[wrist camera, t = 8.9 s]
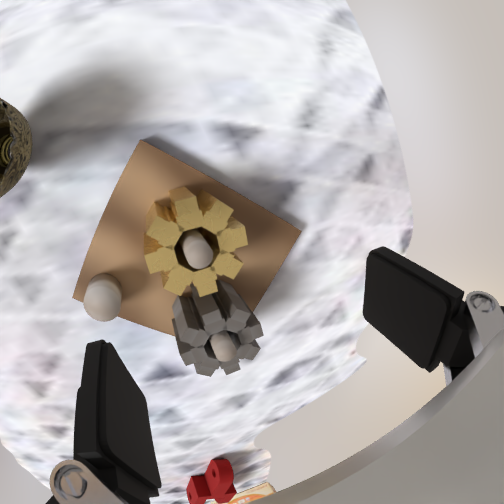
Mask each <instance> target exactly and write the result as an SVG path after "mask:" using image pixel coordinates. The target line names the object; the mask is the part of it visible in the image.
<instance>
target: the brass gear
mask: <svg viewBox="0 0 504 504" xmlns="http://www.w3.org/2000/svg"><path fill="white" fill-rule="evenodd" d="M168 192H169V196H170V201H171V202H169V205H170V208H169V207H167V206H165V207H163V206H162V205H160V204H158V203H156V202H155V201H154V203H153V204H152V206H151V208H150V210H149V211H148V213H147V215H146V232H145V233H144V257H145V260H146V263H147V266H148V269H149V272H150V274H152V273H155V272H159V271H160V272H161V278H162V284H163V288H164V289H166V290H168V291H170V292H172V293H175V294H177V295H179V296H181V295H182V293H183V291H184V289H185V288H186V286H187V285H188V286H189V285H190V284H191V282H193V284H194V286H195V287H196V289H197V292H198V294H199V296H200V297H202V296H205V295H208V294H211V293H214V292H217V291H218V289H217V285H216V281H215V280H217V276H216V273H217V274H219V275H221V276H222V275H223V274H224V275H225V276H227V277H229V278H232V279H234V278H235V277H236V275H237V273H238V272H239V270H240V269H241V267H242V266H243V264H244V263H243V262H242V261H241V260H240V259H239V257H238V256H237V255H236V254H235V253H234V252H233V251H236V250H235V249H236V248H239V247H242V246H246V245H248V242H247V236H246V230H245V226H244V225H243V224H241V223H240V222H239V221H237V220H236V219H235V218H233V217H232V216H231V214H232V212H233V211H234V210H233V209H232V208H230V207H229V206H227V205H226V204H224V203H223V202H221V201H220V200H218V199H217V198H215V197H214V196H212V195H211V194H209V193H207V192H206V191H204V190H203V189H201V190H200V192H199V193H198V195H197V196H195V195H194V194H193V193H192V192H191V191H189V190H188V189H187V188H186V187H185V186H184V187H180V188H176V189H173V190H169V191H168ZM201 226H202V227H203V228H204V232H203V234H202V236H203V238H204V239H205V240H206V242H207V243H208V245H209V246H210V248H211V249H212V251H213V259H212V261H211V263H210V264H209V265H208V266H207V267H205V268H202V269H196V268H193V267H192V266H191V265H190V264H189V263H188V261H187V259H186V256H185V254H184V251H183V249H182V246H180V245H178V244H176V243H177V241H178V239H179V238H180V236H181V234H182V233H183V231H187V230H190V229H194V228H197V227H201Z"/></svg>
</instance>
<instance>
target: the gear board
mask: <svg viewBox="0 0 504 504" xmlns="http://www.w3.org/2000/svg"><path fill="white" fill-rule="evenodd" d="M184 186H185V187H186V188H187V189H188V190H189V191H191V192H192V193H193V194H194V195H195V196H197V195H198V193H199V192H200V190H201V189H203V190H204V191H206V192H207V193H209V194H211V195H212V196H214V197H215V198H217V199H218V200H220V201H221V202H223V203H224V204H226V205H227V206H229V207H230V208H232V209H233V210H234V211H233V212H232V214H231V216H232V217H233V218H235V219H236V220H237V221H239V222H240V223H241V224H243V225H244V226H245V230H246V236H247V242H248V245H246V246H242V247H239V248H236V249H235V250H236V251H233V252H234V253H235V254H236V255H237V256H238V257H239V259H240V260H241V261H242V262H243V263H244V264H243V266H242V267H241V269H240V270H239V272H238V273H237V275H236V277H235V278H234V279H232V278H229V277H227V276H225V275H224V274H223V275H222V276H221V275H219V274H217V273H216V276H217V280H215V281H216V285H217V289H218V291H217V292H214V293H211V294H208V295H205V296H202V297H200V296H199V294H198V292H197V289H196V287H195V286H194V284H193V282H191V284H190V285H189V286H188V285H187V286H186V288H185V289H184V291H183V293H182V295H181V296H179V295H177V294H175V293H172V292H170V291H168V290H166V289H164V288H163V284H162V278H161V272H160V271H159V272H155V273H152V274H150V272H149V269H148V266H147V263H146V260H145V257H144V233H145V232H146V215H147V213H148V211H149V210H150V208H151V206H152V204H153V203H154V201H155V202H156V203H158V204H160V205H162V206H163V207H165V206H167V207H169V208H170V205H169V202H171V201H170V196H169V192H168V191H169V190H173V189H176V188H180V187H184ZM203 232H204V228H203V227H202V226H201V227H197V228H194V229H190V230H187V231H183V233H182V234H181V236H180V238H179V239H178V241H177V243H176V244H178V245H180V246H182V249H183V251H184V254H185V256H186V259H187V261H188V263H189V264H190V265H191V266H192V267H193V268H196V269H202V268H205V267H207V266H208V265H209V264H210V263H211V261H212V259H213V251H212V249H211V248H210V246H209V245H208V243H207V242H206V240H205V239H204V238H203V236H202V234H203ZM300 233H301V230H299V229H297V228H296V227H294V226H292V225H291V224H289V223H288V222H286V221H284V220H283V219H281V218H279V217H278V216H276V215H274V214H273V213H271V212H269V211H268V210H266V209H264V208H263V207H261V206H259V205H258V204H256V203H254V202H252V201H251V200H249V199H247V198H246V197H244V196H242V195H241V194H239V193H237V192H235V191H234V190H232V189H230V188H228V187H227V186H225V185H223V184H221V183H220V182H218V181H216V180H214V179H213V178H211V177H209V176H207V175H205V174H204V173H202V172H200V171H198V170H196V169H195V168H193V167H191V166H189V165H187V164H185V163H184V162H182V161H180V160H178V159H176V158H174V157H173V156H171V155H169V154H167V153H165V152H163V151H161V150H159V149H158V148H156V147H154V146H152V145H150V144H148V143H146V142H144V141H142V140H140V141H139V143H138V145H137V146H136V148H135V150H134V152H133V154H132V156H131V157H130V159H129V161H128V163H127V165H126V167H125V169H124V171H123V173H122V175H121V177H120V179H119V181H118V183H117V185H116V187H115V189H114V191H113V193H112V195H111V197H110V199H109V202H108V204H107V206H106V208H105V211H104V213H103V215H102V217H101V220H100V222H99V225H98V227H97V229H96V232H95V234H94V237H93V239H92V242H91V245H90V247H89V250H88V252H87V255H86V258H85V261H84V264H83V266H82V269H81V272H80V275H79V278H78V281H77V284H76V288H75V291H74V294H73V297H72V298H74V299H76V300H78V301H81V302H83V303H84V308H85V310H86V312H87V313H88V315H89V316H91V317H92V318H93V319H95V320H98V321H103V322H105V321H110V320H113V319H114V318H115V317H117V316H118V317H121V318H123V319H126V320H129V321H131V322H134V323H137V324H140V325H143V326H145V327H148V328H151V329H154V330H157V331H160V332H163V333H166V334H169V335H173V336H175V337H176V341H177V345H178V349H179V353H180V356H181V358H182V360H183V361H184V363H185V365H186V366H187V365H190V364H193V363H194V366H195V369H196V372H197V374H201V375H206V376H210V377H211V376H212V374H213V373H214V371H215V370H216V369H218V368H219V366H221V369H224V371H225V373H226V375H228V374H230V373H233V372H235V371H238V370H240V367H239V364H238V362H240V361H239V359H244V358H246V359H250V360H253V359H254V357H255V356H256V354H257V353H258V352H259V350H260V349H261V348H260V347H259V345H258V344H257V342H256V340H255V339H257V338H259V337H261V336H264V335H263V332H262V328H261V324H260V322H259V321H258V319H257V318H256V317H255V315H254V314H253V311H254V309H255V308H256V306H257V305H258V303H259V301H260V300H261V298H262V296H263V295H264V293H265V292H266V290H267V288H268V287H269V285H270V283H271V282H272V280H273V278H274V277H275V275H276V273H277V272H278V270H279V268H280V267H281V265H282V263H283V262H284V260H285V258H286V257H287V255H288V253H289V252H290V250H291V248H292V247H293V245H294V243H295V242H296V240H297V238H298V236H299V235H300ZM238 358H239V359H238Z"/></svg>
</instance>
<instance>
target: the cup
mask: <svg viewBox="0 0 504 504" xmlns="http://www.w3.org/2000/svg"><path fill="white" fill-rule="evenodd" d="M11 142H12V143H11ZM9 145H10V157H11V159H10V158H9V156H8V148H9ZM31 151H32V135H31V130H30V127H29V124H28V122H27V120H26V119H25V117H24V116H23V115H22V114H21V113H20V112H19V111H18V110H17V109H16V108H15V107H13V106H12V105H10V104H9V103H7V102H6V101H4V100H3V99H1V98H0V197H2V196H3V195H4V194H6V193H7V192H8V191H9V190H11V189H12V188H13V187H14V186H15V185H16V184H17V182H18V181H19V180H20V178H21V177H22V176H23V174H24V172H25V170H26V168H27V166H28V163H29V160H30V156H31Z"/></svg>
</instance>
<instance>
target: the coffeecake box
mask: <svg viewBox="0 0 504 504" xmlns="http://www.w3.org/2000/svg"><path fill="white" fill-rule="evenodd" d="M274 493H276V491H275V489H274V488H273V487H272V486H271V485H270V484H269V483H268V482H266V483H264V484H261V485H259V486H256V487H254V488H251V489H249V490H246V491H243V492H241V493H238V494H235V495H234V497H233V498H232V499H231V500H230V502H229V503H223V504H245V503H248V502H251V501H254V500H257V499H260V498H263V497H266V496H268V495H271V494H274ZM210 503H211V504H218V503H217V502H216V501H213V502H210Z"/></svg>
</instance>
